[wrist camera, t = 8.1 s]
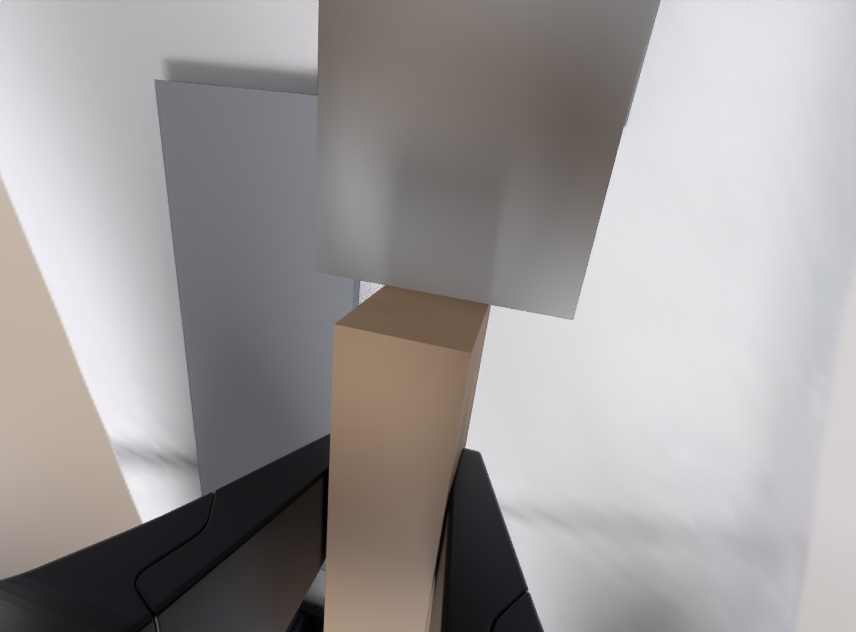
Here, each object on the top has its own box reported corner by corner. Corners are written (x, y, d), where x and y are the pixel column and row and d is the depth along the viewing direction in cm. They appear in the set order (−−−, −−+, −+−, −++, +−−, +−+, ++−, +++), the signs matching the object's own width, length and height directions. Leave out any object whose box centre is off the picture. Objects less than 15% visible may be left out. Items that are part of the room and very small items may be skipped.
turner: (497, 588, 11) (484, 731, 8) (324, 534, 12) (260, 644, 9) (671, -91, 6) (792, -328, 3) (344, -92, 7) (211, -272, 4)
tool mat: (344, 565, 22) (339, 575, 21) (213, 521, 23) (205, 530, 23) (369, 102, 14) (362, 99, 13) (168, 82, 15) (154, 79, 15)
